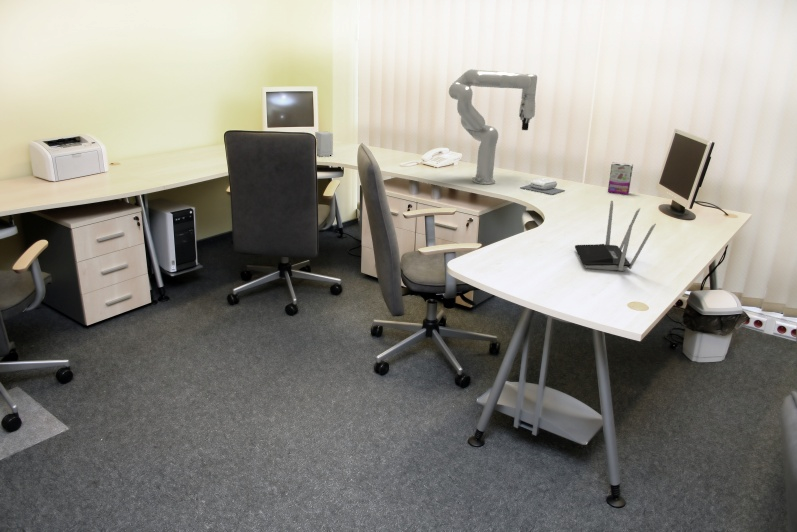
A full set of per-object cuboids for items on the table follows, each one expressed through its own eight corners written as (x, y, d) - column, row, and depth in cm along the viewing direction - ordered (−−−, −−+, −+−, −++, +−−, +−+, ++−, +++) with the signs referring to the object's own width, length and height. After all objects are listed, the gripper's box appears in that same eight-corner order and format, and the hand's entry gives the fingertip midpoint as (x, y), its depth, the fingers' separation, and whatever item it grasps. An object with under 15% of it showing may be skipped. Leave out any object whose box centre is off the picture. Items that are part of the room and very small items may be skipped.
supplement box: (333, 156, 429) (333, 133, 424) (320, 157, 425) (320, 133, 420) (327, 153, 437) (327, 131, 431) (314, 154, 432) (314, 131, 427)
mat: (552, 195, 352) (552, 194, 351) (520, 188, 364) (520, 187, 363) (564, 191, 362) (564, 190, 361) (532, 184, 374) (532, 183, 374)
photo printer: (541, 184, 372) (528, 187, 364) (542, 177, 371) (528, 179, 363) (556, 188, 365) (543, 191, 357) (557, 180, 363) (544, 183, 356)
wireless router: (571, 246, 269) (578, 198, 262) (629, 250, 267) (637, 202, 260) (585, 274, 237) (593, 221, 230) (650, 279, 235) (660, 226, 229)
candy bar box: (628, 193, 364) (633, 164, 358) (628, 195, 359) (633, 165, 354) (608, 190, 367) (612, 161, 362) (607, 192, 363) (611, 163, 357)
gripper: (527, 98, 360) (523, 132, 367) (541, 97, 371) (537, 129, 377) (515, 97, 365) (512, 130, 371) (529, 95, 376) (525, 128, 382)
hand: (524, 129), depth 374 cm, fingers closed
